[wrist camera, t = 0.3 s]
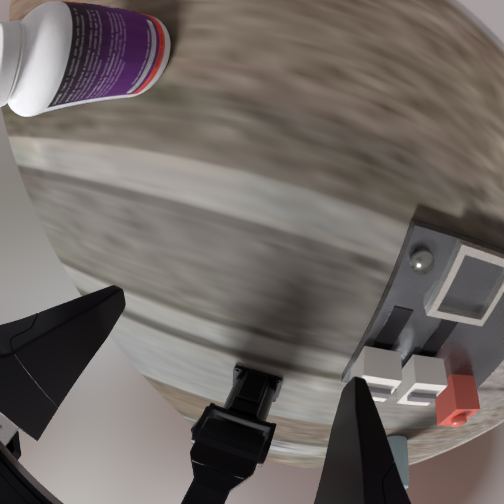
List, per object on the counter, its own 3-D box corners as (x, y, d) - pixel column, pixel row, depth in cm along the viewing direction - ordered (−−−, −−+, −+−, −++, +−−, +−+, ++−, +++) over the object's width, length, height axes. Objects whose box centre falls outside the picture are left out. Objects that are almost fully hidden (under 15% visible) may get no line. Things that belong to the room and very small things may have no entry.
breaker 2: (425, 380, 23) (427, 410, 20) (396, 376, 24) (396, 408, 21) (443, 358, 21) (448, 390, 18) (412, 354, 22) (416, 387, 19)
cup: (367, 437, 36) (359, 489, 28) (408, 429, 32) (404, 483, 24) (378, 449, 38) (371, 494, 29) (414, 441, 34) (411, 488, 25)
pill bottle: (170, 3, 14) (21, -27, 2) (183, 80, 18) (14, 95, 6) (104, 40, 17) (-27, 50, 5) (114, 108, 21) (-23, 148, 9)
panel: (468, 389, 24) (470, 401, 22) (342, 373, 29) (340, 388, 27) (553, 270, 14) (562, 282, 12) (411, 218, 18) (418, 231, 16)
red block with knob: (456, 393, 24) (460, 430, 19) (434, 392, 25) (437, 431, 20) (473, 375, 21) (480, 414, 17) (451, 373, 22) (457, 415, 18)
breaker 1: (384, 374, 24) (383, 406, 21) (351, 369, 25) (347, 401, 22) (400, 352, 22) (402, 386, 19) (364, 345, 23) (362, 380, 20)
